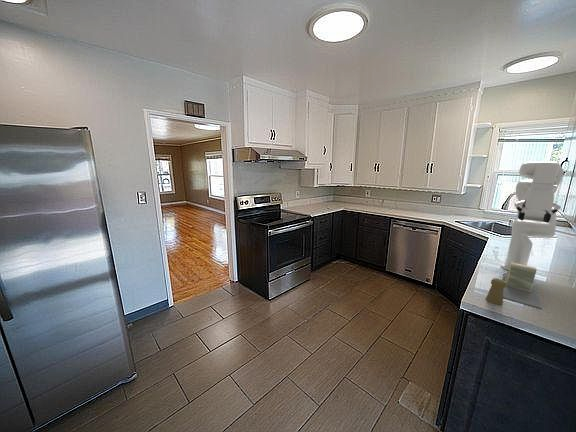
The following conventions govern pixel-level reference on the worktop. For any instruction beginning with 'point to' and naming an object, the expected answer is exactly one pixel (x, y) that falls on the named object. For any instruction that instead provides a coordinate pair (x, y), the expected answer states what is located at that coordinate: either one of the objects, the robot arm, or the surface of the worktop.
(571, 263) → the worktop surface
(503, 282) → the cork
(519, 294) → the rubber mat
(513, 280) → the maple plaque
